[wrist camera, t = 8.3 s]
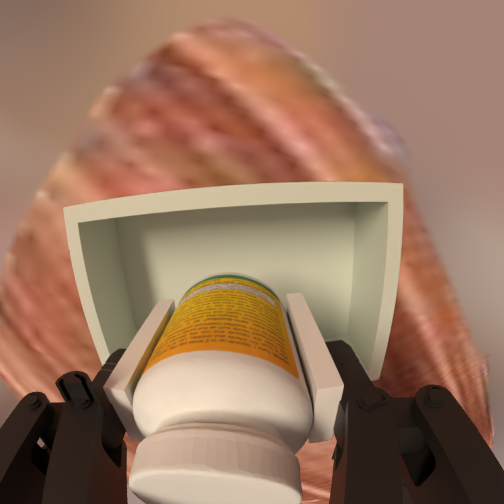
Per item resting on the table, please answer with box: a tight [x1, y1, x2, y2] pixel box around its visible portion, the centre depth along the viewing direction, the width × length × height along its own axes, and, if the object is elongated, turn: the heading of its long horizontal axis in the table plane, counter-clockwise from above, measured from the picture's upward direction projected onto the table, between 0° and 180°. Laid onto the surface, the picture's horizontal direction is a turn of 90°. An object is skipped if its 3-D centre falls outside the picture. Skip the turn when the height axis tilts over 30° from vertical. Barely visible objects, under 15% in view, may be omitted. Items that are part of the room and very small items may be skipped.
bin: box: [63, 182, 403, 381], centre depth 17 cm, size 13×19×6 cm
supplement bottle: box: [129, 272, 313, 504], centre depth 9 cm, size 5×5×10 cm
